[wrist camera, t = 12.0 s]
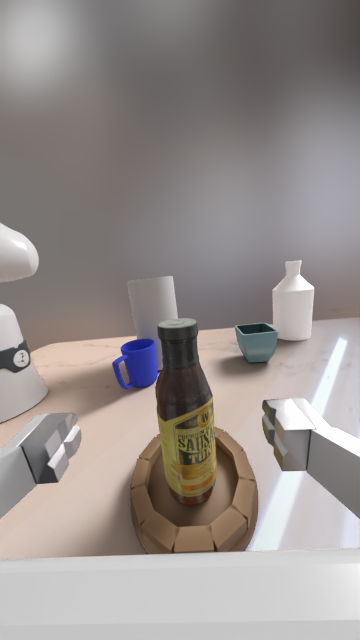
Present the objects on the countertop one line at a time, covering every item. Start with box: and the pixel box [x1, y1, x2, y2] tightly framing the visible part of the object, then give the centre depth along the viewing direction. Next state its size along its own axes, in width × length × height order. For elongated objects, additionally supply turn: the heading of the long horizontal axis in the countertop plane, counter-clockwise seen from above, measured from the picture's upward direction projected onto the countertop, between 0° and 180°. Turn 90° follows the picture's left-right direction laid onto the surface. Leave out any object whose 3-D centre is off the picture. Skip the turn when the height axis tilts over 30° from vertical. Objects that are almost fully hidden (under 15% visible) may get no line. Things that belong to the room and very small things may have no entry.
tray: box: [130, 427, 258, 554], centre depth 23 cm, size 15×15×2 cm
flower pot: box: [235, 323, 278, 363], centre depth 51 cm, size 9×9×9 cm
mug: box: [112, 339, 157, 389], centre depth 45 cm, size 8×12×10 cm
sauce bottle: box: [155, 318, 217, 506], centre depth 21 cm, size 7×6×20 cm
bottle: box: [273, 260, 314, 341], centre depth 63 cm, size 12×12×25 cm
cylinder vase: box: [127, 276, 178, 371], centre depth 55 cm, size 12×12×25 cm
